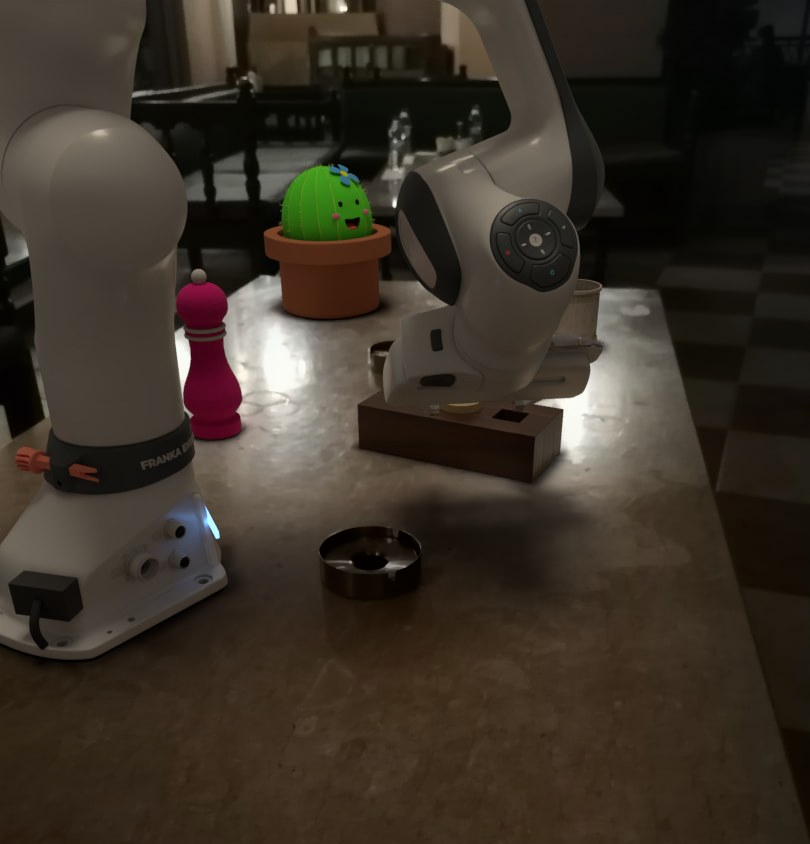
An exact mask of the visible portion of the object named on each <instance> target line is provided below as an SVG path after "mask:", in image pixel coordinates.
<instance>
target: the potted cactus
mask: <svg viewBox="0 0 810 844" xmlns="http://www.w3.org/2000/svg"><path fill="white" fill-rule="evenodd" d="M318 164H319V165H318ZM318 164H317V163H315V165H312V167H310V165H308V166H307V169H301V170H300V171H301V173H300V174H299V175H298V176H296V177H295V178H294V180H290V182H291V183H288V185H289V187H287V186H286V188H285V189H284V191H286V193H285V195H283V196H282V195H281V197H282V198H284V199H283V202H282V204H281V202H278V203H279V206H280V207H282V208H281V221H280V222H279V226H274V227H271V228H268V229H266V230H264V232H263V242H264V253H265V255H266V256H267V258H269V259H271V260H274V261H277V262H278V263H279V264H278V265H279V277H280V289H281V303H282V307H283V309H284V310H285V311H286V312H288V313H289V314H290V315H294V316H297V317H301V318H307V319H314V320H315V319H316V320H337V319H347V318H353V317H357V316H361V315H365V314H369V313H371V312H373V311H374V310H377V309H378V308H379V305H380V276H379V273H380V272H379V270H380V269H379V259H382V258H384V257H386V256H388V255H390V254H391V252H392V231H391V229H390V228H389V227H387V226H385V225H381V224H377V223H374V222H375V220H376V219H375V218H373V216H372V209H371V206H370V201H369V199H368V197H367V195H366V194H368V191H366V188H364V189H363V188H362V184H360V180H359V178H358V177H357V176H356V175H355V174H353V173H348V172H349V168H348V167H346V166H344V165H341V164H337V166H338V167H339V168H338V167H335V166H334V163H331V164H330V165H323V164H322V163H321V161H320V162H318ZM365 191H366V192H365Z"/></svg>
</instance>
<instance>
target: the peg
mask: <svg viewBox="0 0 810 844" xmlns="http://www.w3.org/2000/svg"><path fill="white" fill-rule="evenodd" d="M440 408H441V409H442V410H443V411H446V412H449V413H454V414H468V413H474V412H477V411H479V410H480V409H481V408H482V403H462V404H441V405H440Z"/></svg>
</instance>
